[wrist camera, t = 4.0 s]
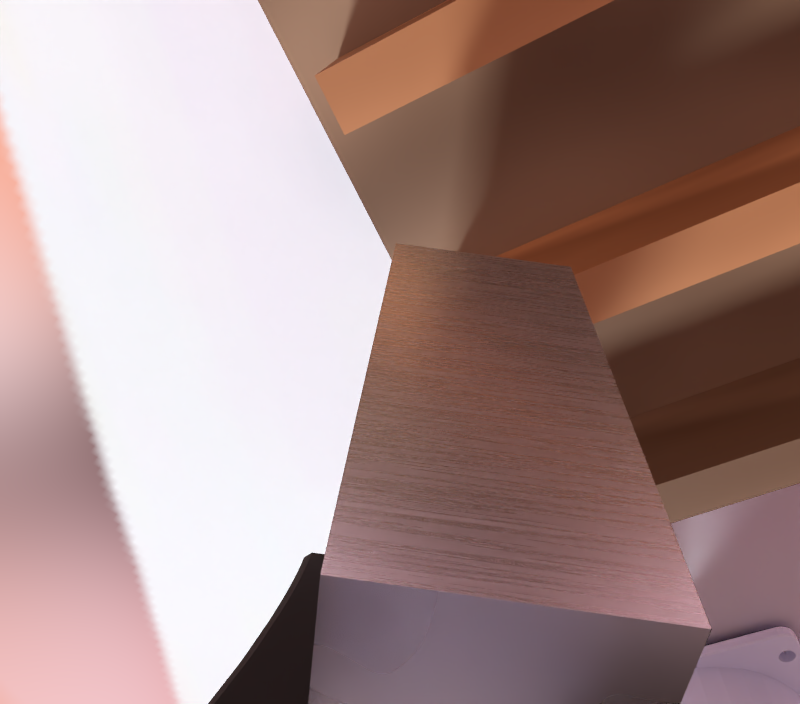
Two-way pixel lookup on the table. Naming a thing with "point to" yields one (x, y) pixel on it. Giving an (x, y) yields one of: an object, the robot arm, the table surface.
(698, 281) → the rack
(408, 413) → the wooden block
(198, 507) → the table surface
